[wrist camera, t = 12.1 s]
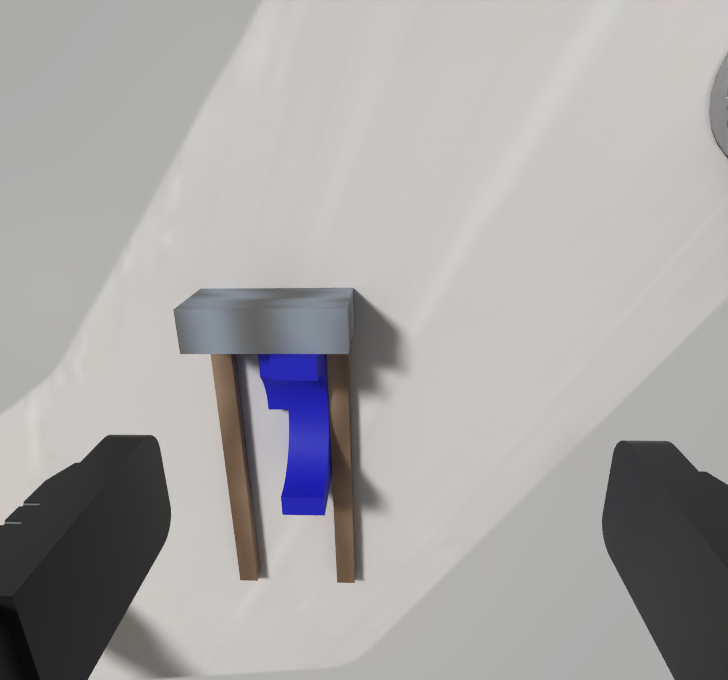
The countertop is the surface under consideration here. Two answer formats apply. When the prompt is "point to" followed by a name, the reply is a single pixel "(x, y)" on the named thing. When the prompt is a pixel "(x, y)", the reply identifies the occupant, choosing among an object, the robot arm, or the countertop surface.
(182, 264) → the countertop surface
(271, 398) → the cable clip
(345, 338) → the guide channel
